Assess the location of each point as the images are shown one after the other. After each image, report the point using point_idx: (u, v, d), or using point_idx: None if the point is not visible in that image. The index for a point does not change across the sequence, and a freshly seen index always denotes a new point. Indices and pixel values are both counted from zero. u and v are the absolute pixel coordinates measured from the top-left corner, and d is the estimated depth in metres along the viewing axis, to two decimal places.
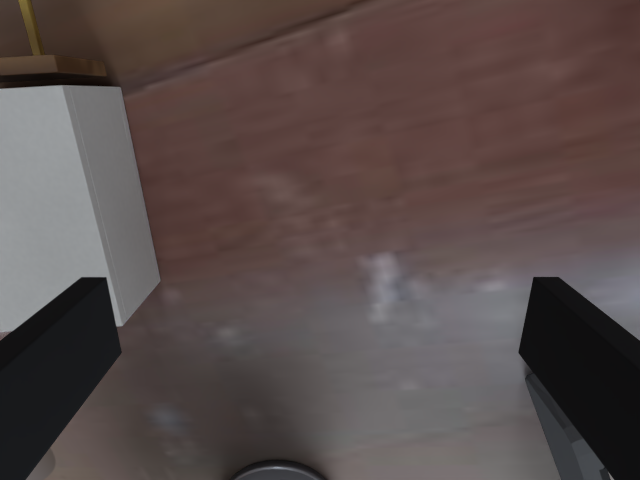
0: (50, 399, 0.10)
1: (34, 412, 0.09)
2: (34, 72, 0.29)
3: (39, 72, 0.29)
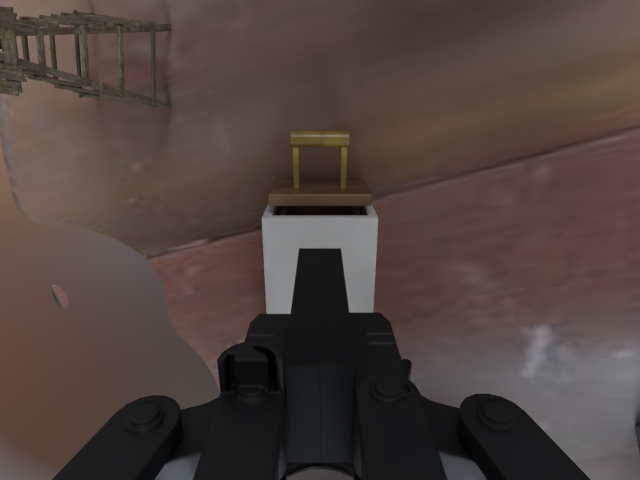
0: None
1: None
2: (354, 205, 0.40)
3: (357, 205, 0.40)
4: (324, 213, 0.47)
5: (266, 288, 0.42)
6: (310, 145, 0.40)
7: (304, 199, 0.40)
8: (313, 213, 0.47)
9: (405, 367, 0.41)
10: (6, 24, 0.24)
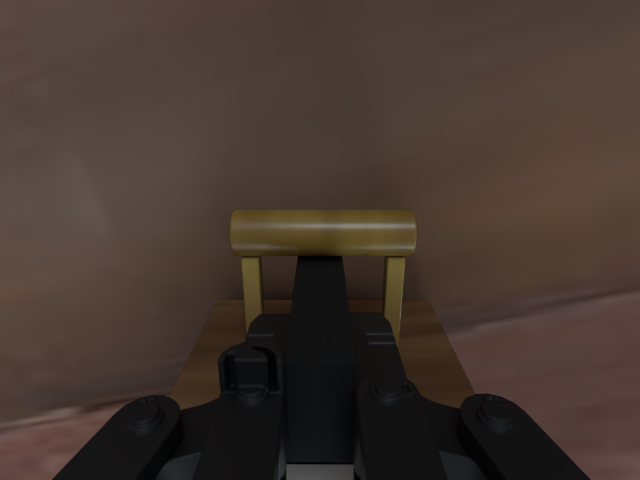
0: None
1: None
2: None
3: None
4: None
5: None
6: (294, 254, 0.13)
7: None
8: None
9: None
10: None
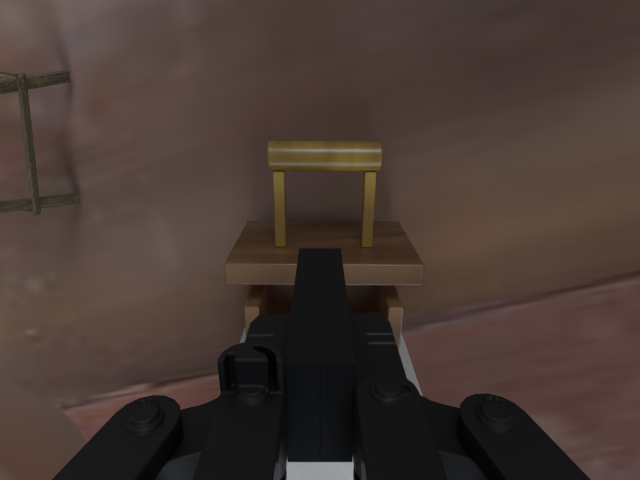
0: None
1: None
2: (389, 284, 0.21)
3: (396, 284, 0.21)
4: None
5: None
6: (306, 168, 0.21)
7: (294, 273, 0.21)
8: None
9: None
10: None
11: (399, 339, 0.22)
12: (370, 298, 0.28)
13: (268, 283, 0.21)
